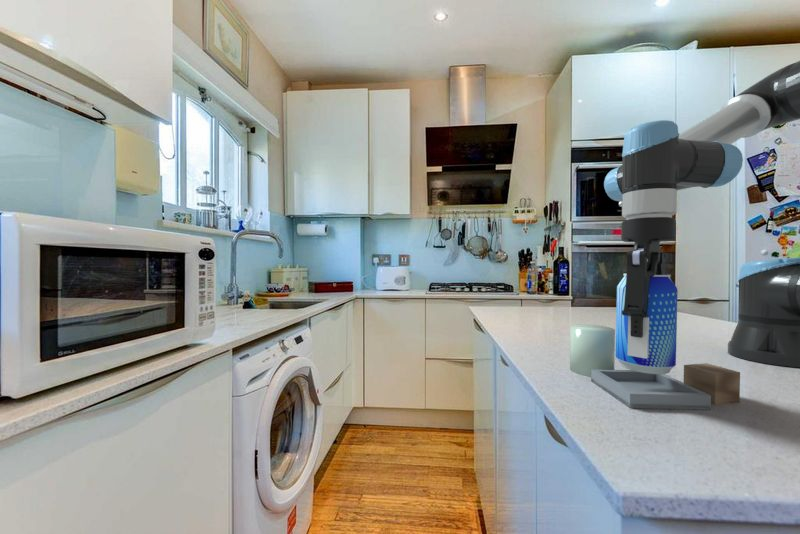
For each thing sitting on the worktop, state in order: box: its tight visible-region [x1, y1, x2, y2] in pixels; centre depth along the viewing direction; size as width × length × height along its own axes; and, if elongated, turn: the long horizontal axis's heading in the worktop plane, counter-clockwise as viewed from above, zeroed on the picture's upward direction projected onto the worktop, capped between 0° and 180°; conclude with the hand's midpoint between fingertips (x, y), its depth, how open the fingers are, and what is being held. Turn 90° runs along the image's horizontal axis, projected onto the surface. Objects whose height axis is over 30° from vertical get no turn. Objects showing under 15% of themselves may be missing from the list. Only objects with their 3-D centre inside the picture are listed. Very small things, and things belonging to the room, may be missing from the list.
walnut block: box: [683, 362, 741, 406], centre depth 58 cm, size 5×5×5 cm
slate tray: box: [590, 369, 712, 411], centre depth 60 cm, size 12×12×2 cm
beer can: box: [615, 272, 679, 375], centre depth 59 cm, size 8×8×16 cm
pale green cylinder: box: [569, 323, 616, 378], centre depth 72 cm, size 8×8×9 cm
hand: (645, 351), depth 60 cm, fingers closed on beer can, 8 cm apart
